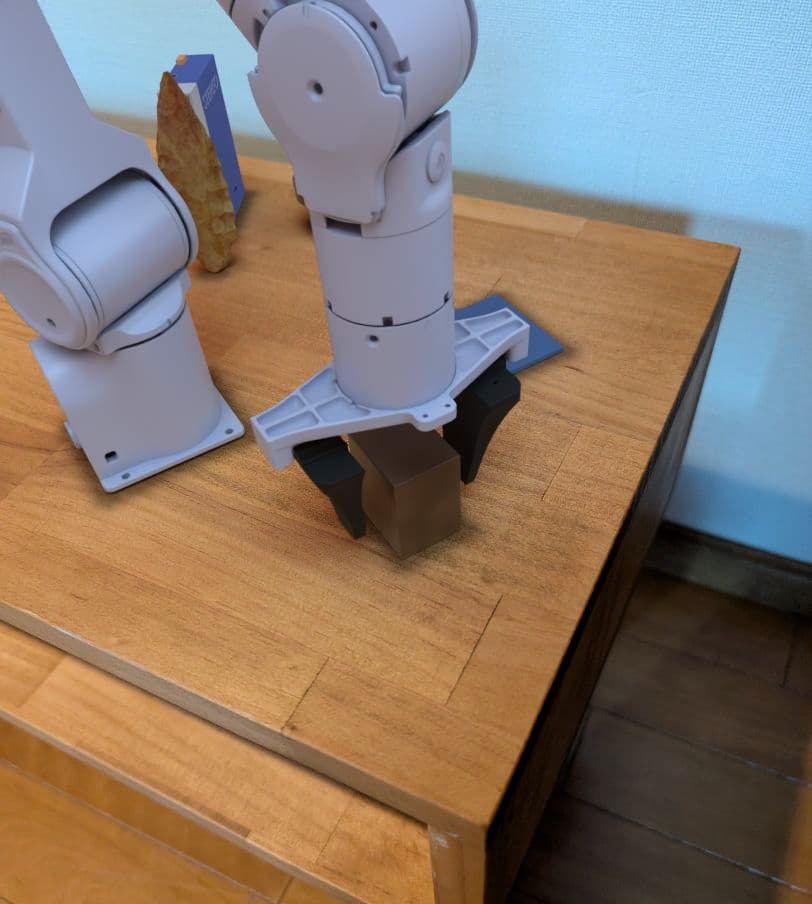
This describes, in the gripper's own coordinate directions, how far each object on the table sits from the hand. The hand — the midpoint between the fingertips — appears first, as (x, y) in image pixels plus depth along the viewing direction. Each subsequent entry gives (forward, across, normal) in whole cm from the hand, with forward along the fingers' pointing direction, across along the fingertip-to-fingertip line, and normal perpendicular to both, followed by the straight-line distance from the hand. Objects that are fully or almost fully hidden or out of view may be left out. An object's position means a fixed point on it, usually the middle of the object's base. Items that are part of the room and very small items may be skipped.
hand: (407, 499), depth 44 cm
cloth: (+2, +12, +11) cm, 16 cm away
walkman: (+2, +5, +40) cm, 40 cm away
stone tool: (+2, +1, +32) cm, 32 cm away
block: (+2, 0, 0) cm, 2 cm away
